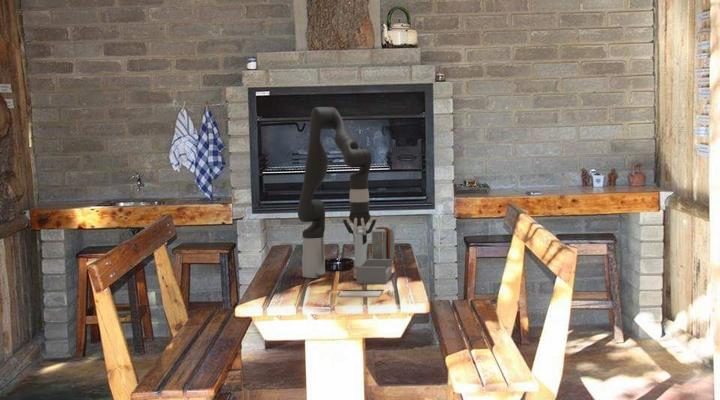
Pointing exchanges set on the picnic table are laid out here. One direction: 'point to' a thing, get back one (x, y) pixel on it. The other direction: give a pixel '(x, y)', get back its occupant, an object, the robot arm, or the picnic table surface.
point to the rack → (374, 271)
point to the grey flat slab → (359, 249)
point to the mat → (361, 293)
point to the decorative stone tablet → (383, 243)
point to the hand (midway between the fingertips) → (360, 243)
